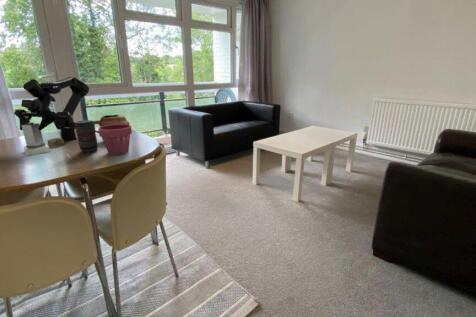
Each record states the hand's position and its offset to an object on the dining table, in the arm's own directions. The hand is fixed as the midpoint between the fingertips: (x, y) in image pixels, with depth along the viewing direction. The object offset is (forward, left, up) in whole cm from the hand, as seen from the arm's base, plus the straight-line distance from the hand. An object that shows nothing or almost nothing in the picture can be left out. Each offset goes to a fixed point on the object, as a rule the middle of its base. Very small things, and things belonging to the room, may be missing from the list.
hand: (30, 129), depth 124 cm
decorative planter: (-36, +1, -11) cm, 37 cm away
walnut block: (-10, -7, -11) cm, 16 cm away
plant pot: (-30, +27, -11) cm, 42 cm away
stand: (-1, -1, -11) cm, 11 cm away
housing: (-1, -1, -8) cm, 8 cm away
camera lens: (-20, +16, -11) cm, 28 cm away
